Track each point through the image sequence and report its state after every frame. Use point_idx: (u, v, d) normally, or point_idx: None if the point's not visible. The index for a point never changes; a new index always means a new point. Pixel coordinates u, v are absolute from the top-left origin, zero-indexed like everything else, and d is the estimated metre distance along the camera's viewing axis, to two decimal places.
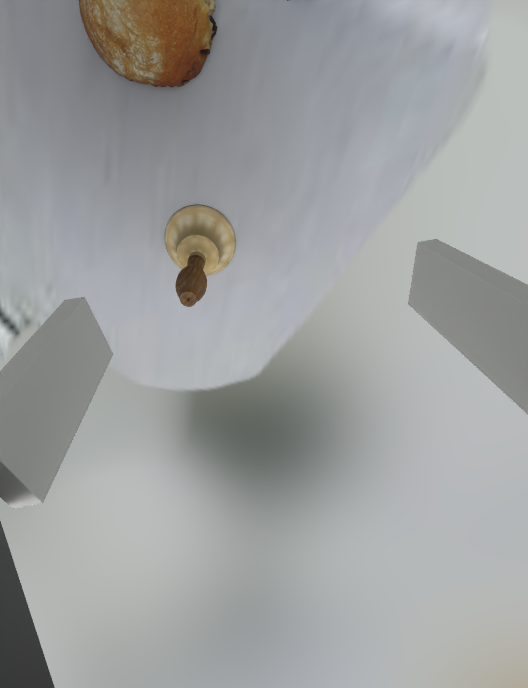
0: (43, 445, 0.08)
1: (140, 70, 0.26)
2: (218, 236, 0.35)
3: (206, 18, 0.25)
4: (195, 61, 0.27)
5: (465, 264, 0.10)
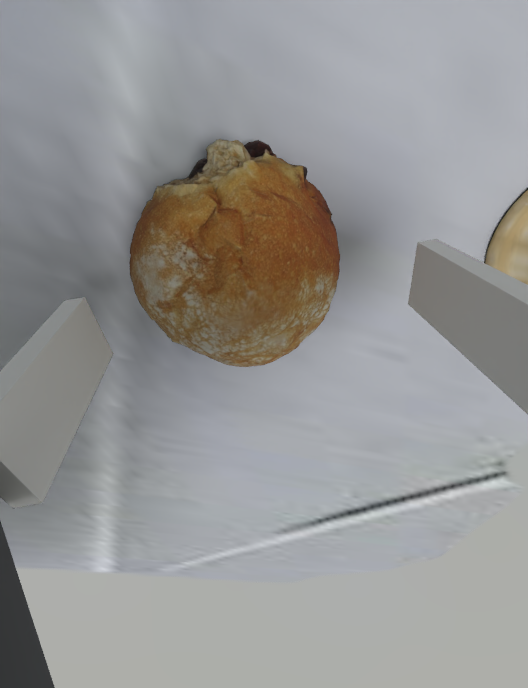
0: (43, 445, 0.08)
1: (323, 307, 0.15)
2: None
3: (263, 167, 0.12)
4: (317, 202, 0.13)
5: (465, 264, 0.10)
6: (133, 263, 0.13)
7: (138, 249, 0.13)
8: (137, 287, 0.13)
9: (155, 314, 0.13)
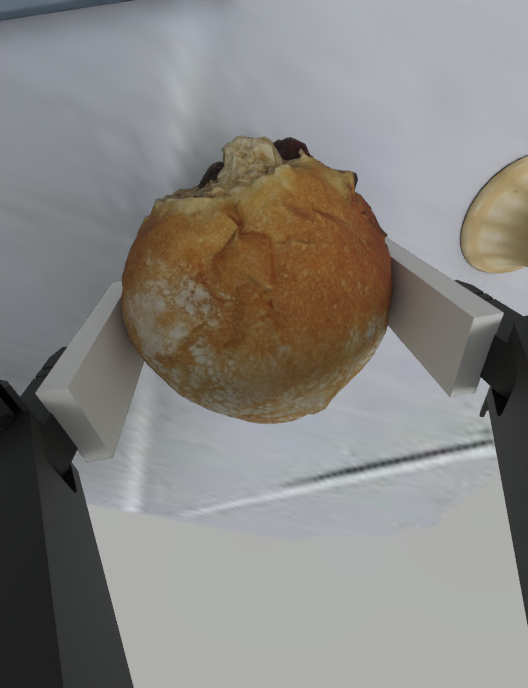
0: (110, 407, 0.09)
1: (369, 352, 0.12)
2: None
3: (302, 175, 0.08)
4: (369, 220, 0.10)
5: (404, 260, 0.11)
6: (124, 301, 0.10)
7: (131, 283, 0.10)
8: (130, 332, 0.10)
9: (153, 366, 0.10)
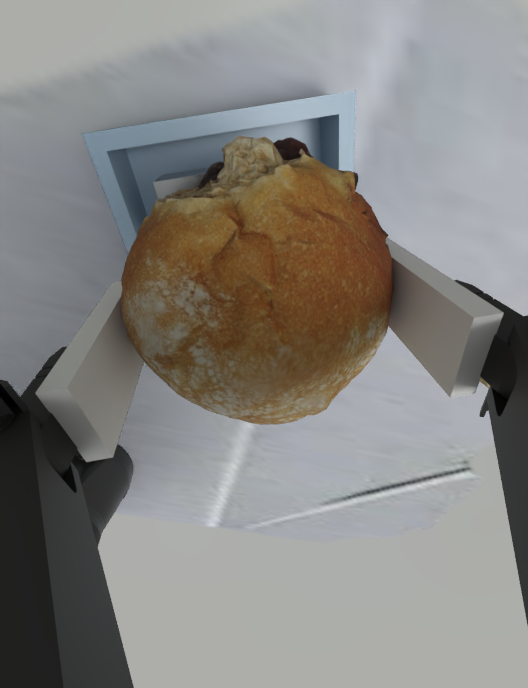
0: (111, 407, 0.09)
1: (370, 352, 0.12)
2: None
3: (303, 175, 0.08)
4: (370, 220, 0.10)
5: (404, 260, 0.11)
6: (124, 302, 0.10)
7: (130, 284, 0.09)
8: (129, 332, 0.10)
9: (153, 367, 0.10)
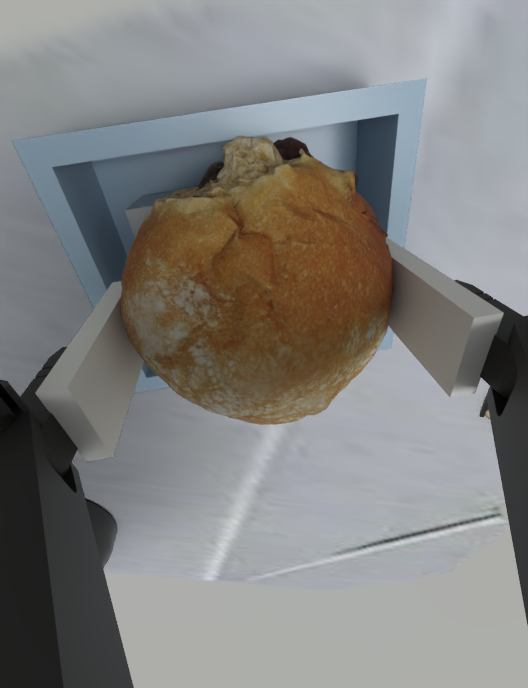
0: (110, 407, 0.09)
1: (370, 352, 0.12)
2: None
3: (303, 174, 0.08)
4: (370, 220, 0.10)
5: (404, 260, 0.11)
6: (124, 301, 0.10)
7: (130, 284, 0.09)
8: (129, 332, 0.10)
9: (153, 367, 0.10)
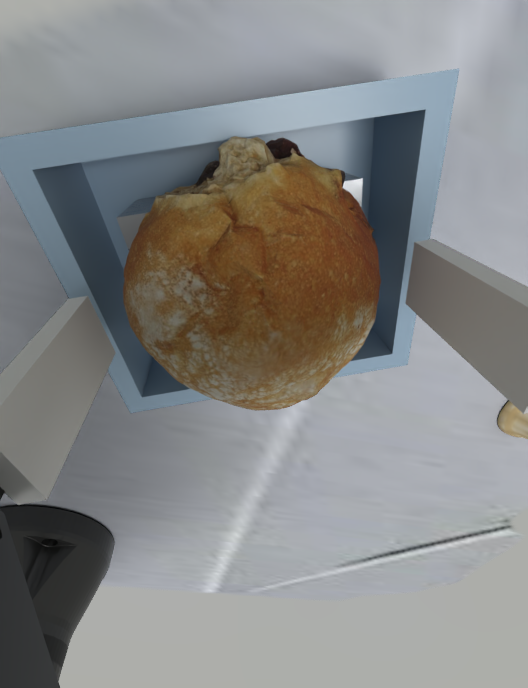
0: (48, 442, 0.08)
1: (359, 341, 0.12)
2: None
3: (292, 172, 0.09)
4: (357, 215, 0.11)
5: (461, 264, 0.10)
6: (126, 292, 0.10)
7: (132, 275, 0.10)
8: (131, 321, 0.11)
9: (153, 353, 0.11)
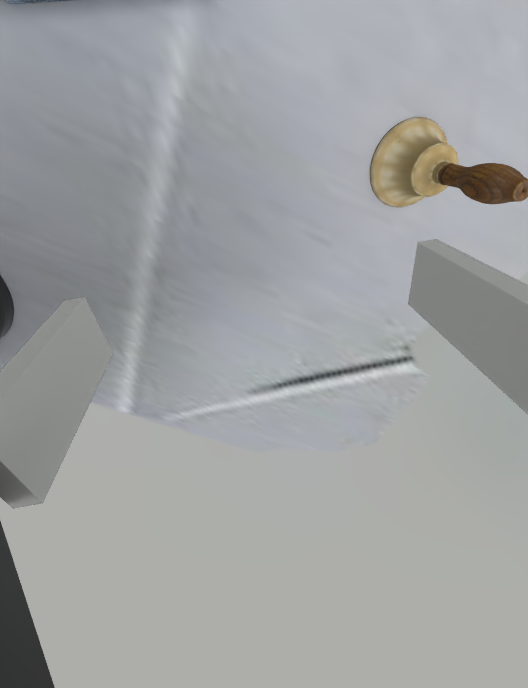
0: (43, 445, 0.08)
1: None
2: (417, 140, 0.30)
3: None
4: None
5: (465, 264, 0.10)
6: None
7: None
8: None
9: None
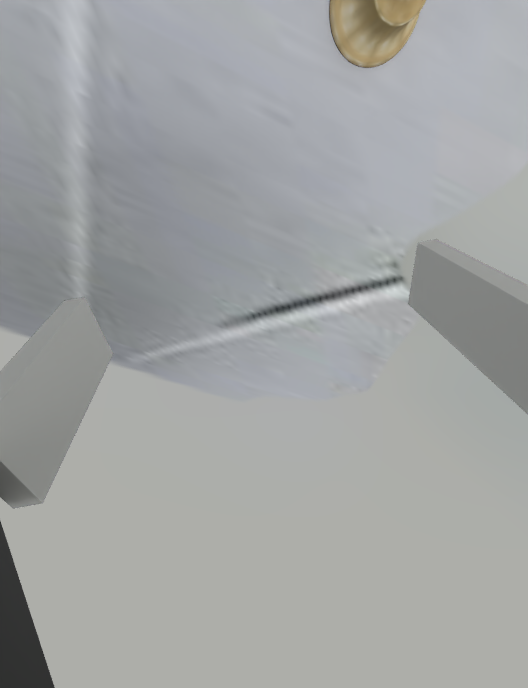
0: (43, 445, 0.08)
1: None
2: None
3: None
4: None
5: (465, 264, 0.10)
6: None
7: None
8: None
9: None
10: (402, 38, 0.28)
